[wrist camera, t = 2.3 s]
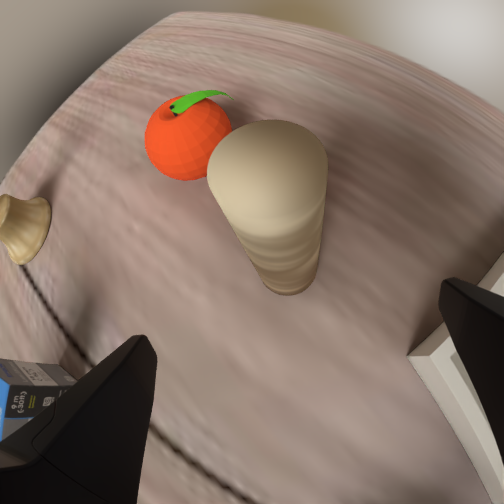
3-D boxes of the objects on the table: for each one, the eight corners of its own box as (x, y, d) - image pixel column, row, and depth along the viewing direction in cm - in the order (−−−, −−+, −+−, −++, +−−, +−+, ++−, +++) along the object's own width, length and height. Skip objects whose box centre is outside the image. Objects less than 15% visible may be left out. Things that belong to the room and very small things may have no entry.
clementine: (224, 116, 26) (203, 59, 20) (267, 157, 24) (252, 94, 17) (154, 162, 26) (117, 113, 19) (186, 212, 23) (146, 161, 17)
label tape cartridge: (64, 458, 18) (-39, 477, 6) (39, 433, 19) (-60, 439, 7) (85, 385, 20) (-39, 381, 9) (58, 361, 21) (-57, 344, 10)
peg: (280, 306, 20) (247, 243, 9) (248, 260, 21) (187, 158, 10) (328, 273, 20) (353, 172, 9) (294, 229, 21) (279, 104, 10)
